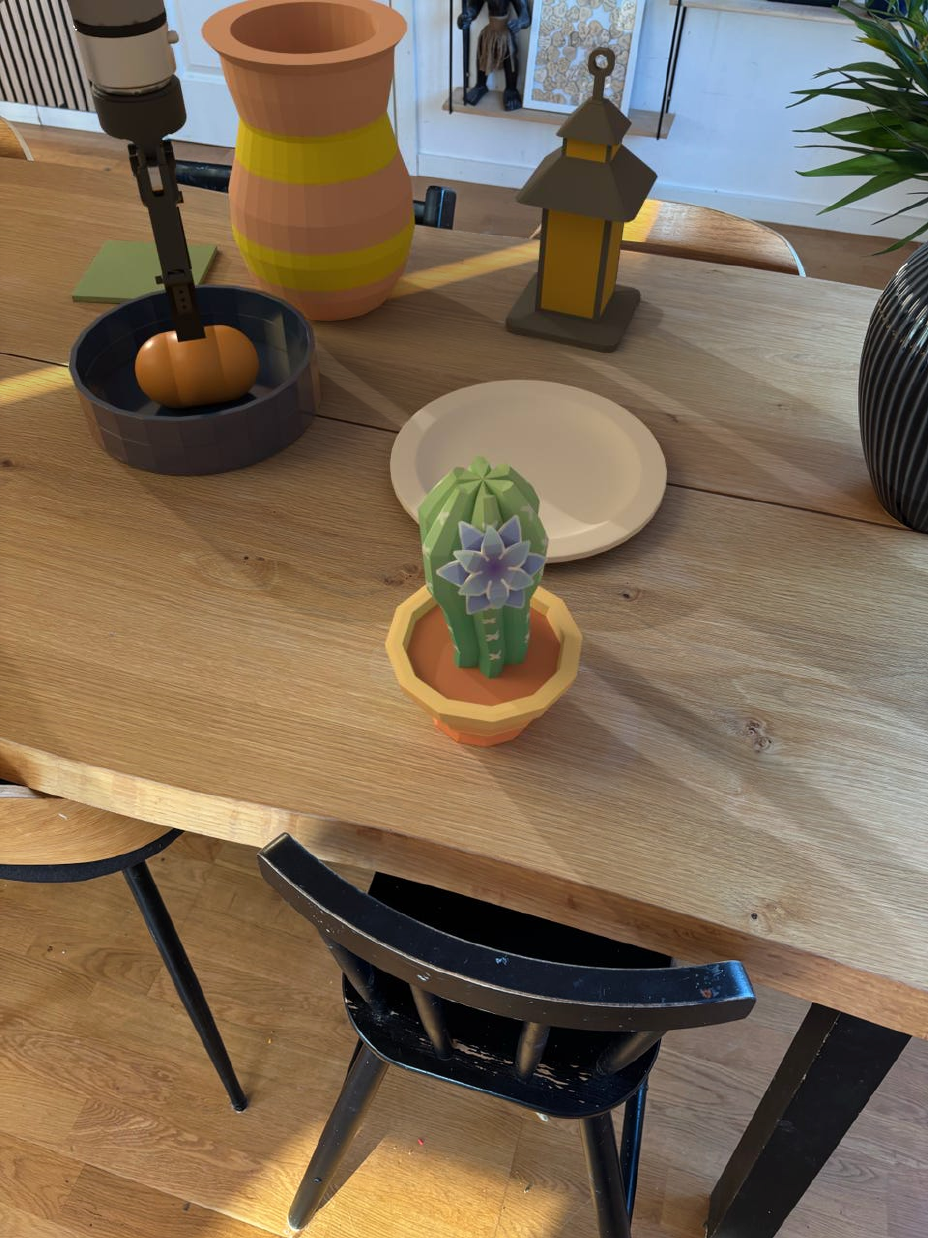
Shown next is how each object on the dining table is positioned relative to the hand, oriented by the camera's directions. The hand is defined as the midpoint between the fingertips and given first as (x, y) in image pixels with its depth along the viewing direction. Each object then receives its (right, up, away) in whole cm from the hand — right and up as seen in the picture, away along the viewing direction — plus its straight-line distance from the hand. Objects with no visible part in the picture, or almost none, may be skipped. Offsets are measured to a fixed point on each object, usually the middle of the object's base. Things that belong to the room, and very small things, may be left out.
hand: (185, 302), depth 100 cm
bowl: (0, -8, +9) cm, 12 cm away
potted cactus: (+30, -39, -18) cm, 52 cm away
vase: (+11, +10, +25) cm, 30 cm away
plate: (+35, -18, +1) cm, 39 cm away
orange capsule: (0, -8, +9) cm, 12 cm away
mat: (-12, +12, +27) cm, 32 cm away
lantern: (+42, +6, +22) cm, 48 cm away
